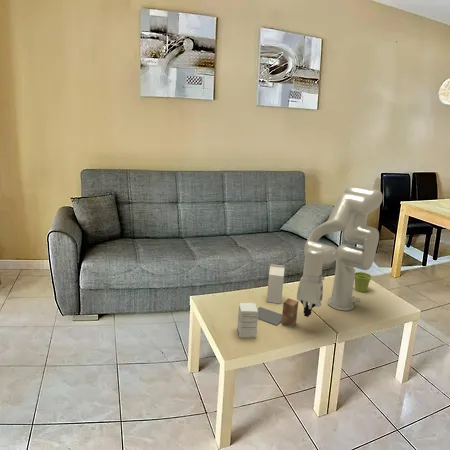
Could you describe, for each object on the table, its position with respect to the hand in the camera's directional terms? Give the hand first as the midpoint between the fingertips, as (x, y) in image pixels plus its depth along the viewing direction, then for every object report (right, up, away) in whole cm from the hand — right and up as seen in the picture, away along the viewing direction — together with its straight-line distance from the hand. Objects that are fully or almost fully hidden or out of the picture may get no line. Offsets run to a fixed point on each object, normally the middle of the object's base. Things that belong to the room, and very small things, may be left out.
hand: (307, 315), depth 169 cm
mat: (-16, -3, +11) cm, 20 cm away
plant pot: (+39, +3, +44) cm, 59 cm away
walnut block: (-7, -5, +6) cm, 11 cm away
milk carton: (-11, +1, +28) cm, 30 cm away
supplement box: (-27, -7, -3) cm, 28 cm away
